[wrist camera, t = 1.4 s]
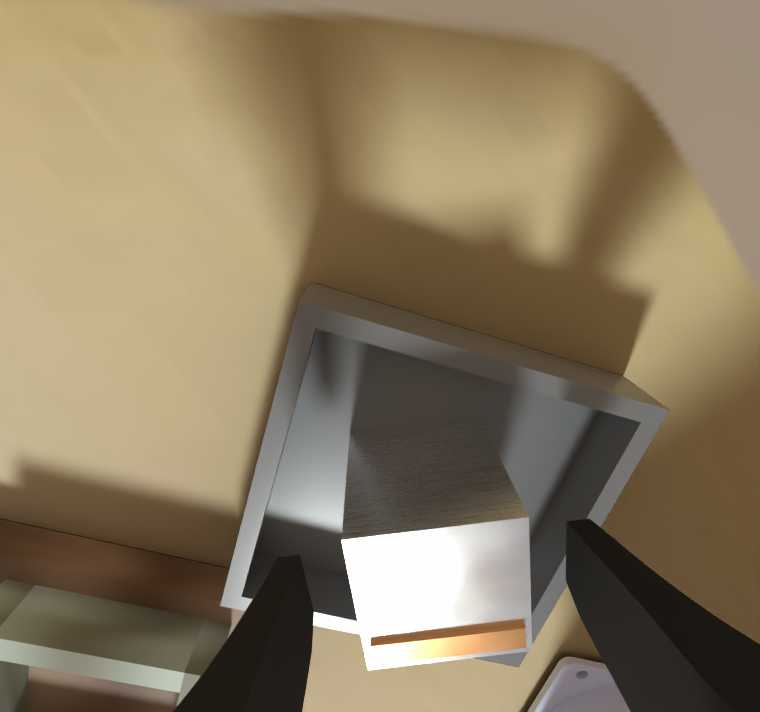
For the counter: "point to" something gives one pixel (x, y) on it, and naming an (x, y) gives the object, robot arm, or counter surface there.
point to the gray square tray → (424, 405)
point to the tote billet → (435, 545)
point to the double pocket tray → (103, 624)
